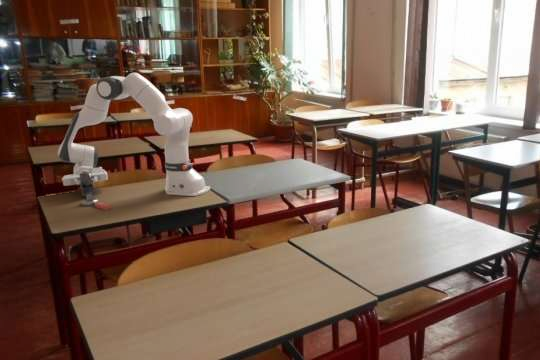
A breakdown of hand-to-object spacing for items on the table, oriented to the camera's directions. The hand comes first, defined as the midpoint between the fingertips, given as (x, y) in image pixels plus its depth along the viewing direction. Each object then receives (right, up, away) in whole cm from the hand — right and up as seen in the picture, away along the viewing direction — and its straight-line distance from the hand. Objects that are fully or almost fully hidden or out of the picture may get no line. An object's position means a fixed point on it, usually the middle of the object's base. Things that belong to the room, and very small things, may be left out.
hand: (86, 182), depth 222 cm
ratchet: (+9, -10, -11) cm, 17 cm away
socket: (0, -6, +2) cm, 6 cm away
